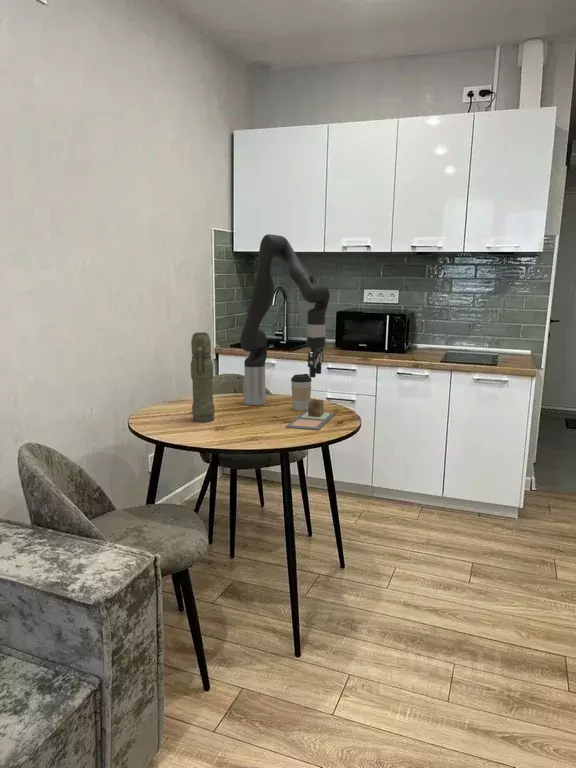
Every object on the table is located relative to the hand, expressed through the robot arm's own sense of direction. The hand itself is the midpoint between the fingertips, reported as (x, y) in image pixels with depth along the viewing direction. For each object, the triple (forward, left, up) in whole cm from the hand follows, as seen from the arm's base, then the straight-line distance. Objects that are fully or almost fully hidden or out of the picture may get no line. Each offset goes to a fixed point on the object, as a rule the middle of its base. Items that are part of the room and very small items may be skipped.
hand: (315, 375), depth 232 cm
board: (0, -6, -17) cm, 18 cm away
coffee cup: (-10, +13, -17) cm, 24 cm away
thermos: (-42, -17, -17) cm, 49 cm away
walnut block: (0, 0, -17) cm, 17 cm away
